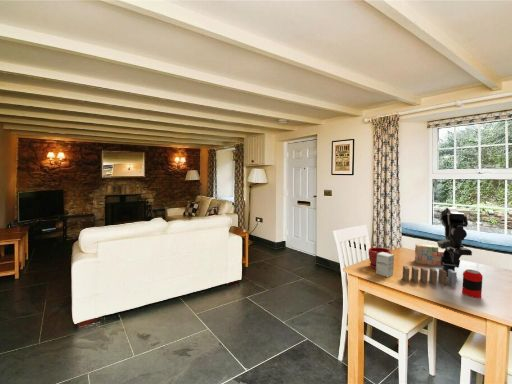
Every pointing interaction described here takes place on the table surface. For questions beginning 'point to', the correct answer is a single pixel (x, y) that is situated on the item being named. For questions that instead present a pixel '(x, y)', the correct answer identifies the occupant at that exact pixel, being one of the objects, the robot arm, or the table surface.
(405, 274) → the domino
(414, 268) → the domino
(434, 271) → the domino
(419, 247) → the printed cardboard carton
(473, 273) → the soda can
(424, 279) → the domino
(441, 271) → the domino
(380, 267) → the supplement box
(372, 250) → the plant pot
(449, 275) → the domino
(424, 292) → the table surface
